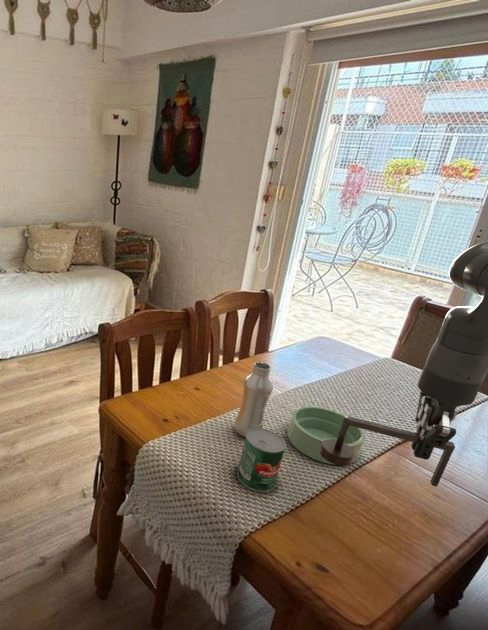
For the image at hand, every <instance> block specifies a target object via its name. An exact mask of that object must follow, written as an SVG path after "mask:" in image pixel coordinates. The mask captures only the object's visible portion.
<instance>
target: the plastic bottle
mask: <svg viewBox="0 0 488 630" xmlns="http://www.w3.org/2000/svg"><path fill="white" fill-rule="evenodd" d="M271 367H272V366H271V365H270V364H268V363H266V362H262V361H256V362H254V364H253V368H252V372H251V373H249V375H247V376H246V377H245V378H244V381H243V391H242V392H243V393H242V400H241V404H240V408H239V410H238V413H237V415H236V416H235V417H236V418H235V419H234V429H235V431H236V432H237V434H238V435H240V436H241V437H243V438H246V433H247V431H249V430H250V429H254V428H262V429H264V415H265V410H266V407H267V404H268V401H269V399H270V397H271V395H272V392H273V391H274V384H273V382H272V379H271V378H270V375H271V370H272V369H271Z"/></svg>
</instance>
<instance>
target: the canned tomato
mask: <svg viewBox="0 0 488 630" xmlns="http://www.w3.org/2000/svg"><path fill="white" fill-rule="evenodd" d="M286 446H287V445H286V441H285V440H284V439H283V437H282V436H281V435H279V434H278V433H277V432H274V431H273V430H270V429H267V428H263V429H262V428H254V429H250V430H249V431H247V433H246V437H244V442H243V446H242V452H241V455H240V460H239V466H238V470H237V472H236V476H237V479H238V480H239V482H240V483H241V485H243V486H245V487H246V488H247V489H250V490H252V491H254V492H258V493H269V492H271V491H273V490H274V489H275V487H276V483H277V479H278V476H279V472H280V467H281V464H282V460H283V457H284V453H285V449H286Z"/></svg>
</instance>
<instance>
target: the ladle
mask: <svg viewBox="0 0 488 630" xmlns="http://www.w3.org/2000/svg"><path fill="white" fill-rule="evenodd" d="M346 416H347V417H345V418H344V419H343V422H342V425H341V428H340V431H339V434H338V437H337V440H336V439H325V440H323V441H322V444H321V447H320V454H321V456H322V457H323V458H324V459H325V460H327V461H329V462H331V463H333V464H332V465H334V464H336V465H335V466H340V467H347V466H350V465H351V464H353V463H352V460H353V457H354V454H355V452H354V450H353V448H352V447H351V446H349V445H348V444H346V443H344V440H345V437H346V434H347V431H348V428H349V426H353V427H357V428H361V429H362V430H364V431H365V430H366V431H369V432H373V433H377V434H381V435H385V436H389V437H391V438H396V439H400V440H404V441H408V442H412V443H413V442H415V443H417V442H418V440H419V436H420V434H418V433H417V432H414V431H409V430H406V429H402V428H398V427H394V426H390V425H385V424H381V423H378V422H373V421H370V420H366V419H362V418H358V417H354V416H350V415H346ZM434 448H435V449H438V450H442V451H443V452H442V454H441V456H440V459H439V461H438V463H437V465H436V467H435V470H434V472H433V475H431V479H430V484H431V485H430V486H432V487H436V488H437V487H438V485H439V483H440V481H441V479H442V477H443V474H444V472H445V470H446V468H447V465H448V463H449V461H450V459H451V457H452V455H453V453H454V451H455V448H456V445H455V443H454V442H453V441H451V440H449V441H448V442H447V443H446V444H445V445H444V446H442V447H438V446H434Z"/></svg>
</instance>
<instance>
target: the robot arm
mask: <svg viewBox="0 0 488 630" xmlns="http://www.w3.org/2000/svg"><path fill="white" fill-rule="evenodd" d="M448 276H449V279H450V281H451V283H452V284H453V285H454V286H456V287H457V288H458V289H461V290H463V291H466V292H469V293H471V294H474V295H476V296H479V297H482V298H481V300H480V302H479V303H478V304H477V305H476V306H475V307H474V306H455V307H452V308H451V309H449V311H448V312H447V313H446V315H445V317H444V319H443V322H442V325H441V327H440V330H439V332H438V335H437V336H436V337H437V338H436V339H435V342H434V343H433V345H432V347H431V348H430V351H429V353H428V355H427V358H426V361H425V364H424V366H423V368H422V370H421V373H420V377H419V378H418V382H417V388H418V390H419V391H420V392H419V398H418V403H417V404H418V405H417V409H416V415H415V420H414V421H415V423H417V424H416V426H415V430H416V433H418V434H420V436H419V440H418V442H417V443H415V442H412V443H411V445H410V446H411V449H412V451H413V453H412V454H413V456H414V457H415V458H419V459H422V460H425V461H426V460H427V461H428V460H429V459H430V458H431V456H432V453H433V451H434V446H438V447H442V446H444V445H445V444H446V443H447V442H448V441H451V440H452V439H453V438H454V437H455V436H456V434H457V429H456V428H453V427H451V424H452V422H454V421H455V420H456V418H457V414H458V413H457V412H458V411H457V408H458V407H463V406H469V405H472V404H473V403H474V402H475V400H476V398H477V395H478V393H479V391H480V389H481V387H482V384H483V382H484V380H485V378H486V376H487V373H488V240H485V241H483V242H479V243H478V244H475V245H473V246H471V247H469V248H467V249H466V250H464V251H463V252H461V253H460V254H459V255H458V256H457V257H456V258H455V259H454V260H453V262H452V263H451V265H450V267H449V270H448Z"/></svg>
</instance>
